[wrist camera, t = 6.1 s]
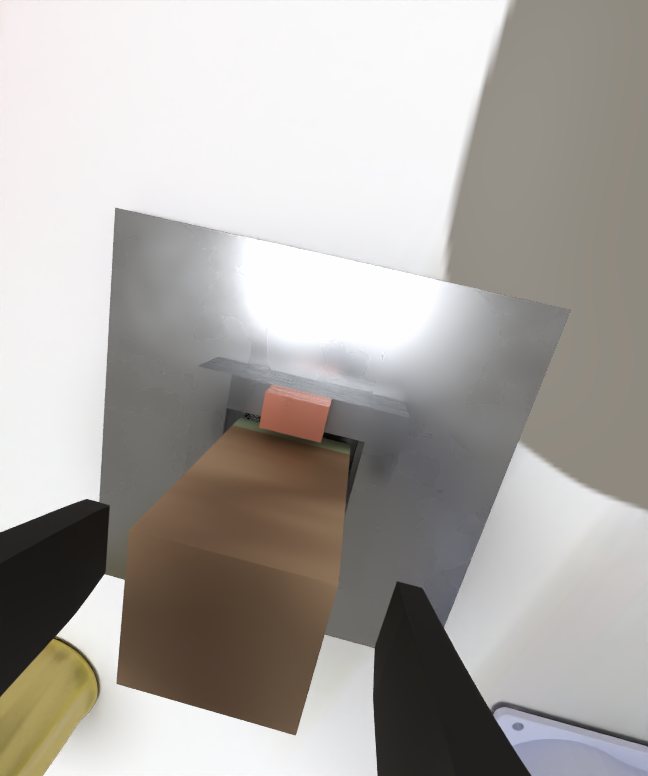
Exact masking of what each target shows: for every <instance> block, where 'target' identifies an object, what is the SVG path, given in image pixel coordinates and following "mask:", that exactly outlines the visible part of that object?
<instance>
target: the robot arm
mask: <svg viewBox="0 0 648 776" xmlns="http://www.w3.org/2000/svg"><path fill="white" fill-rule="evenodd" d="M109 511H110V505H107V504H103V503H100V502H96V501H92V500H88V499H85V500H83V501H80V502H77V503H74V504H71V505H69V506H66V507H63V508H61V509H58V510H56V511H53V512H51V513H48V514H46V515H43V516H41V517H38V518H36V519H33V520H31V521H28V522H26V523H23V524H21V525H18V526H16V527H13V528H10V529H8V530H5V531H3V532H0V697H1V696H2V695H3V694H4V692H5V691H6V690H7V689H8V688H9V687H10V686H11V685H12V684H13V683H14V681H15V680H16V679H17V678H18V677H19V676H20V675H21V674H22V673H23V672H24V670H25V669H26V668H27V667H28V666H29V665H30V664H31V663H32V662H33V661H34V659H35V658H36V657H37V656H38V655H39V654H40V653H41V652H42V651H43V650H44V648H45V647H46V646H47V645H48V644H49V643H50V642H51V641H52V639H53V638H54V637H55V636H56V635H57V634H58V633H59V632H60V631H61V629H62V628H63V627H64V626H65V625H66V624H67V623H68V622H69V620H70V619H71V618H72V617H73V616H74V615H75V613H76V612H77V611H78V610H79V608H80V607H81V606H82V604H83V603H84V602H85V600H86V599H87V598H88V596H89V595H90V593H91V592H92V591H93V589H94V588H95V586H96V585H97V584H98V582H99V581H100V579H101V578H102V577H103V575H104V574H105V572H106V559H107V543H108V527H109ZM373 704H374V722H375V739H376V756H377V772H378V776H648V746H644V745H641V744H637V743H633V742H630V741H626V740H623V739H619V738H615V737H612V736H608V735H605V734H601V733H597V732H594V731H590V730H586V729H583V728H579V727H576V726H572V725H568V724H565V723H561V722H558V721H554V720H550V719H547V718H543V717H540V716H536V715H532V714H529V713H525V712H522V711H518V710H514V709H511V708H507V707H501V708H498V709H497V710H496V711H495V712H494V714H492V712H491V711H490V709H489V707H488V706H487V704H486V702H485V701H484V699H483V697H482V696H481V694H480V692H479V690H478V689H477V687H476V685H475V683H474V682H473V680H472V678H471V676H470V675H469V673H468V671H467V670H466V668H465V666H464V664H463V663H462V661H461V659H460V657H459V655H458V653H457V652H456V650H455V648H454V646H453V644H452V642H451V641H450V639H449V637H448V635H447V633H446V631H445V629H444V628H443V626H442V624H441V622H440V620H439V618H438V616H437V614H436V612H435V610H434V609H433V607H432V605H431V603H430V601H429V599H428V597H427V595H426V593H425V592H424V590H423V588H421V587H417V586H413V585H410V584H406V583H402V582H398V581H397V582H396V585H395V588H394V591H393V594H392V597H391V600H390V603H389V606H388V609H387V612H386V615H385V618H384V621H383V624H382V627H381V630H380V633H379V636H378V639H377V641H376V644H375V658H374V687H373Z"/></svg>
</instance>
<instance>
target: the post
mask: <svg viewBox="0 0 648 776" xmlns="http://www.w3.org/2000/svg"><path fill="white" fill-rule="evenodd" d="M259 425H260V422H257V421H253V420H249V419H245V418H241V417H240V418H239V419H238V420H237V421H236V422H235V423H234V424H233V425H232V426H231V427H230V428H229V429H228V430H227V431H226V432H225V433H224V434H223V435H222V436H221V437H220V438H219V439H218V440H217V441H216V442H215V444H214V445H213V446H212V447H211V448H210V449H209V450H208V451H207V452H206V453H205V454H204V455H203V456H202V457H201V458H200V459H199V460H198V461H197V462H196V463H195V464H194V465H193V466H192V467H191V468H190V469H189V470H188V471H187V472H186V473H185V474H184V475H183V476H182V477H181V478H180V479H179V480H178V481H177V482H176V483H175V484H174V485H173V486H172V487H171V488H170V489H169V490H168V491H167V492H166V493H165V494H164V495H163V496H162V497H161V498H160V499H159V500H158V501H157V502H156V503H155V504H154V505H153V506H152V507H151V508H150V509H149V510H148V511H147V512H146V513H145V514H144V515H143V516H142V517H141V518H140V519H139V520H138V521H137V522H136V523H135V524H134V525H133V526H132V527H131V528H130V529H129V537H128V549H127V562H126V574H125V586H124V598H123V611H122V623H121V635H120V647H119V659H118V672H117V684H119V685H123V686H126V687H129V688H133V689H136V690H140V691H143V692H147V693H150V694H154V695H157V696H161V697H164V698H168V699H171V700H175V701H178V702H182V703H185V704H188V705H192V706H195V707H199V708H202V709H206V710H209V711H213V712H216V713H220V714H223V715H227V716H230V717H234V718H237V719H240V720H244V721H247V722H251V723H254V724H258V725H261V726H265V727H268V728H272V729H275V730H279V731H282V732H286V733H289V734H292V735H296V733H297V729H298V726H299V722H300V719H301V715H302V712H303V708H304V705H305V701H306V698H307V694H308V691H309V687H310V684H311V680H312V676H313V673H314V669H315V666H316V662H317V659H318V655H319V652H320V648H321V645H322V641H323V638H324V634H325V631H326V627H327V624H328V620H329V617H330V613H331V610H332V606H333V603H334V599H335V596H336V592H337V589H338V584H339V573H340V562H341V550H342V539H343V527H344V516H345V505H346V493H347V482H348V471H349V459H350V448H351V445H350V444H346V443H342V442H338V441H334V440H330V439H326V438H322V441H321V443H320V442H316V441H312V440H308V439H304V438H299V437H295V436H291V435H287V434H283V433H279V432H275V431H271V430H267V429H263V428H259Z"/></svg>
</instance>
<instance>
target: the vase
mask: <svg viewBox="0 0 648 776" xmlns="http://www.w3.org/2000/svg"><path fill="white" fill-rule="evenodd" d="M97 694H98V687H97V681H96V677H95V675H94V672H93V670H92V669H91V667H90V665H89V664H88V663H87V661H86V660H85V659H84V658H83V657H82V656H81V655H80V654H79V653H78V652H77V651H75V650H74V649H73V648H71V647H70V646H68V645H66V644H65V643H63V642H61V641H58V640H56V639H52V641H51V642H50V643H49V644H48V645H47V646H46V647H45V648H44V650H43V651H42V652H41V653H40V654H39V655H38V656H37V657H36V658H35V659H34V661H33V662H32V663H31V664H30V665H29V666H28V667H27V668H26V669H25V670H24V672H23V673H22V674H21V675H20V676H19V677H18V678H17V679H16V680H15V681H14V683H13V684H12V685H11V686H10V687H9V688H8V689H7V690H6V691H5V692H4V694H3V695H2V696H1V697H0V776H43V775H44V773H45V772H46V770H47V769H48V768H49V766H50V765H51V763H52V762H53V760H54V759H55V758H56V756H57V755H58V753H59V752H60V750H61V749H62V747H63V746H64V744H65V743H66V741H67V740H68V738H69V737H70V735H71V733H72V732H73V730H74V729H75V727H76V726H77V724H78V723H79V722H80V721H81V720H82V718H83V717H85V716H86V715H87V714H88V712H89V711H90V710H91V709H92V707H93V706H94V704H95V701H96V699H97Z"/></svg>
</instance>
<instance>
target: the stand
mask: <svg viewBox="0 0 648 776" xmlns="http://www.w3.org/2000/svg"><path fill="white" fill-rule="evenodd" d="M570 311H571V310H569V309H565V308H560V307H556V306H551V305H546V304H542V303H538V302H533V301H529V300H524V299H520V298H516V297H511V296H506V295H502V294H498V293H493V292H489V291H484V290H480V289H475V288H471V287H467V286H462V285H457V284H453V283H449V282H444V281H440V280H435V279H431V278H426V277H422V276H418V275H413V274H409V273H404V272H400V271H395V270H391V269H386V268H382V267H377V266H373V265H369V264H364V263H360V262H355V261H351V260H346V259H342V258H337V257H333V256H328V255H324V254H320V253H315V252H311V251H306V250H302V249H297V248H293V247H288V246H284V245H279V244H275V243H270V242H266V241H262V240H257V239H253V238H248V237H244V236H239V235H235V234H230V233H226V232H221V231H217V230H213V229H208V228H204V227H199V226H195V225H190V224H186V223H181V222H177V221H172V220H168V219H163V218H159V217H155V216H150V215H146V214H141V213H137V212H132V211H128V210H123V209H119V208H115V223H114V242H113V260H112V279H111V297H110V316H109V335H108V353H107V372H106V390H105V409H104V428H103V446H102V465H101V483H100V503H103V504H107V505H110V511H109V527H108V543H107V559H106V572H105V574H106V575H110V576H113V577H117V578H121V579H124V580H125V574H126V562H127V549H128V537H129V529H130V528H131V527H132V526H133V525H134V524H135V523H136V522H137V521H138V520H139V519H140V518H141V517H142V516H143V515H144V514H145V513H146V512H147V511H148V510H149V509H150V508H151V507H152V506H153V505H154V504H155V503H156V502H157V501H158V500H159V499H160V498H161V497H162V496H163V495H164V494H165V493H166V492H167V491H168V490H169V489H170V488H171V487H172V486H173V485H174V484H175V483H176V482H177V481H178V480H179V479H180V478H181V477H182V476H183V475H184V474H185V473H186V472H187V471H188V470H189V469H190V468H191V467H192V466H193V465H194V464H195V463H196V462H197V461H198V460H199V459H200V458H201V457H202V456H203V455H204V454H205V453H206V452H207V451H208V450H209V449H210V448H211V447H212V446H213V445H214V444H215V442H216V441H217V440H218V439H219V438H220V437H221V436H222V435H223V434H224V433H225V432H226V431H227V430H228V429H229V428H230V427H231V426H232V425H233V424H234V423H235V422H236V421H237V420H238V419H239V418H240V417H241V418H245V415H246V413H249V414H253V415H257V416H261V419H260V425H259V428H263V429H267V430H271V431H275V432H279V433H283V434H287V435H291V436H295V437H299V438H304V439H308V440H312V441H316V442H320V443H321V441H322V437H323V434H324V432H326V433H330V434H334V435H338V436H342V437H346V438H350V439H354V440H358V444H357V447H356V451H355V455H354V459H353V462H352V466H351V470H350V474H349V477H348V482H347V493H346V505H345V516H344V527H343V539H342V550H341V562H340V573H339V584H338V589H337V592H336V596H335V599H334V603H333V606H332V610H331V613H330V617H329V620H328V624H327V627H326V631H325V635H329V636H332V637H336V638H340V639H343V640H347V641H351V642H354V643H358V644H362V645H365V646H369V647H373V648H375V644H376V641H377V639H378V636H379V633H380V630H381V627H382V624H383V621H384V618H385V615H386V612H387V609H388V606H389V603H390V600H391V597H392V594H393V591H394V588H395V585H396V582H397V581H398V582H402V583H406V584H410V585H413V586H417V587H421V588H423V590H424V592H425V593H426V595H427V597H428V599H429V601H430V603H431V605H432V607H433V609H434V610H435V612H436V614H437V616H438V618H439V620H440V622H441V624H442V626H443V628H444V626H445V623H446V621H447V618H448V616H449V613H450V611H451V608H452V606H453V603H454V601H455V598H456V596H457V593H458V591H459V588H460V586H461V583H462V581H463V578H464V576H465V573H466V571H467V568H468V566H469V563H470V561H471V558H472V556H473V553H474V551H475V548H476V546H477V543H478V541H479V538H480V536H481V533H482V531H483V528H484V526H485V523H486V521H487V518H488V516H489V513H490V511H491V508H492V506H493V503H494V501H495V498H496V496H497V493H498V491H499V488H500V486H501V483H502V481H503V478H504V476H505V473H506V471H507V468H508V466H509V463H510V461H511V458H512V456H513V453H514V451H515V448H516V446H517V443H518V441H519V438H520V436H521V433H522V431H523V428H524V425H525V423H526V421H527V418H528V416H529V413H530V411H531V408H532V406H533V403H534V401H535V398H536V395H537V393H538V391H539V388H540V386H541V383H542V381H543V378H544V376H545V373H546V371H547V368H548V366H549V363H550V361H551V358H552V356H553V353H554V351H555V348H556V346H557V343H558V341H559V338H560V336H561V333H562V331H563V328H564V326H565V323H566V321H567V318H568V316H569V313H570Z"/></svg>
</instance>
